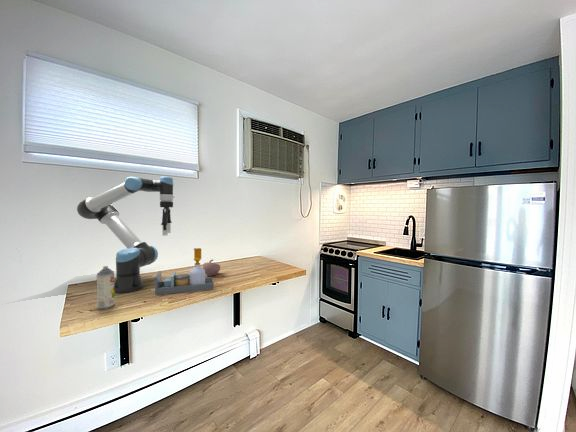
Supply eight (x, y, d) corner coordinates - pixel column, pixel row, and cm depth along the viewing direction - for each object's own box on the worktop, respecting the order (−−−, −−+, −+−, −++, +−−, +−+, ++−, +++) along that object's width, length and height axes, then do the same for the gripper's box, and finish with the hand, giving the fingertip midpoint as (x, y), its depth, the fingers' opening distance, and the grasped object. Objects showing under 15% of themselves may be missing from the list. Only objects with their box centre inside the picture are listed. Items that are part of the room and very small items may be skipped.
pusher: (163, 292, 133) (163, 277, 133) (166, 286, 143) (166, 272, 142) (173, 291, 135) (173, 276, 134) (175, 285, 145) (175, 271, 144)
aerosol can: (113, 307, 114) (113, 267, 113) (95, 310, 111) (95, 268, 110) (115, 302, 120) (115, 264, 119) (98, 304, 116) (98, 265, 116)
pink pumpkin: (222, 273, 174) (222, 258, 173) (216, 278, 162) (216, 262, 161) (207, 272, 175) (207, 257, 174) (199, 277, 163) (199, 261, 163)
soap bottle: (188, 290, 139) (188, 249, 137) (190, 285, 147) (190, 246, 146) (204, 289, 141) (204, 249, 140) (205, 284, 150) (205, 246, 149)
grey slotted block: (154, 295, 130) (154, 277, 130) (159, 287, 143) (159, 271, 142) (213, 289, 141) (213, 272, 141) (212, 282, 153) (212, 267, 153)
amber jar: (173, 291, 136) (173, 278, 136) (175, 287, 144) (175, 274, 143) (188, 290, 139) (188, 277, 138) (189, 285, 146) (189, 273, 146)
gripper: (170, 201, 139) (170, 236, 139) (175, 201, 162) (175, 231, 163) (156, 200, 136) (156, 236, 137) (163, 201, 159) (163, 232, 160)
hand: (166, 234), depth 150 cm, fingers open, 13 cm apart
